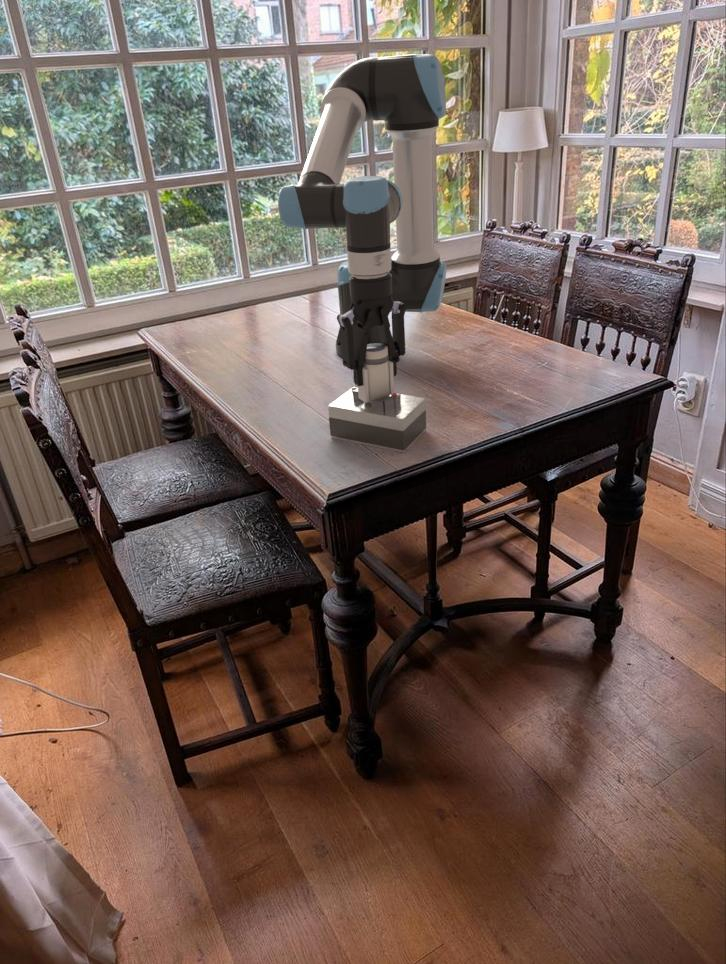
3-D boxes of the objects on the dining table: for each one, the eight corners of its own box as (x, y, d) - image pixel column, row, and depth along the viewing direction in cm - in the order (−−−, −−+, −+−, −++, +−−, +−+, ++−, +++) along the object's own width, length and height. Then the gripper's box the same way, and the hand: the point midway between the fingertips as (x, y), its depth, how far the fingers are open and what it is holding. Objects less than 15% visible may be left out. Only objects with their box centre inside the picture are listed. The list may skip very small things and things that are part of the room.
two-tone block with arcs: (330, 437, 135) (326, 393, 130) (355, 417, 142) (352, 374, 137) (403, 452, 128) (402, 406, 123) (426, 430, 135) (425, 386, 130)
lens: (372, 405, 128) (369, 354, 123) (358, 396, 132) (355, 346, 127) (395, 398, 130) (393, 347, 125) (380, 390, 134) (378, 340, 129)
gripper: (335, 287, 112) (345, 415, 124) (424, 268, 120) (426, 390, 132) (314, 278, 118) (326, 402, 130) (400, 261, 126) (404, 379, 137)
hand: (376, 396), depth 131 cm, fingers closed on lens, 5 cm apart
